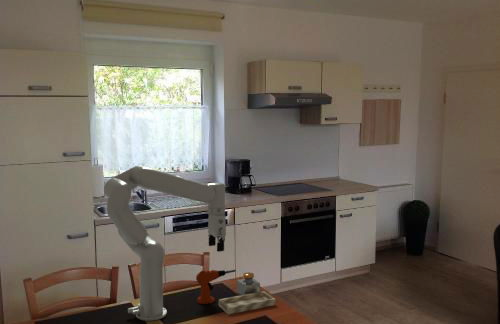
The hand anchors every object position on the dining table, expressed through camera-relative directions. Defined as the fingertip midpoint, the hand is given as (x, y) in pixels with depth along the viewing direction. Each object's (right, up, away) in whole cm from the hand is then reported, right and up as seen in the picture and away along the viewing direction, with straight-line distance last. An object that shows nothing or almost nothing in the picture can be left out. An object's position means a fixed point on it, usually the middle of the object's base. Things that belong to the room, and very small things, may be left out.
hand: (216, 248), depth 204 cm
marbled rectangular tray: (+14, -25, -2) cm, 28 cm away
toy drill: (0, -24, +2) cm, 24 cm away
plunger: (+14, -23, +11) cm, 29 cm away
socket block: (+14, -24, +11) cm, 30 cm away
